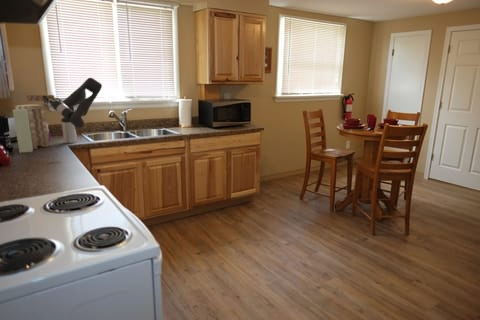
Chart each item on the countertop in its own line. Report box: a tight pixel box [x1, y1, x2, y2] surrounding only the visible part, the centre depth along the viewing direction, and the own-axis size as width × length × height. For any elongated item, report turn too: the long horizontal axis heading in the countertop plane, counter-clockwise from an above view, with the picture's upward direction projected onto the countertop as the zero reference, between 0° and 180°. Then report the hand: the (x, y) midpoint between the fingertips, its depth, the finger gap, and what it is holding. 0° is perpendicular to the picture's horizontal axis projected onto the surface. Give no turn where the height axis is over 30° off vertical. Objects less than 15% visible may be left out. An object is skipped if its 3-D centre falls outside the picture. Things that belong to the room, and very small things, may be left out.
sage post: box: [12, 109, 34, 154], centre depth 233 cm, size 8×8×30 cm
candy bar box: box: [46, 121, 51, 142], centre depth 271 cm, size 11×5×16 cm, turn 146°
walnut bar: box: [26, 94, 55, 102], centre depth 238 cm, size 25×4×4 cm, turn 65°
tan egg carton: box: [14, 104, 50, 150], centre depth 250 cm, size 16×12×32 cm
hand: (46, 96), depth 235 cm, fingers closed on walnut bar, 4 cm apart
